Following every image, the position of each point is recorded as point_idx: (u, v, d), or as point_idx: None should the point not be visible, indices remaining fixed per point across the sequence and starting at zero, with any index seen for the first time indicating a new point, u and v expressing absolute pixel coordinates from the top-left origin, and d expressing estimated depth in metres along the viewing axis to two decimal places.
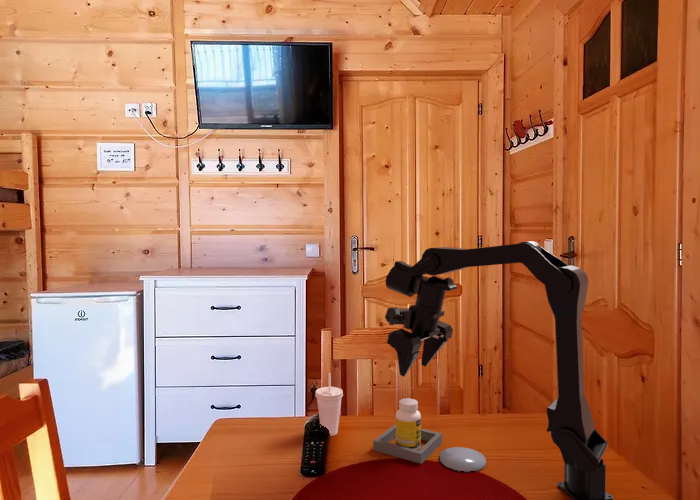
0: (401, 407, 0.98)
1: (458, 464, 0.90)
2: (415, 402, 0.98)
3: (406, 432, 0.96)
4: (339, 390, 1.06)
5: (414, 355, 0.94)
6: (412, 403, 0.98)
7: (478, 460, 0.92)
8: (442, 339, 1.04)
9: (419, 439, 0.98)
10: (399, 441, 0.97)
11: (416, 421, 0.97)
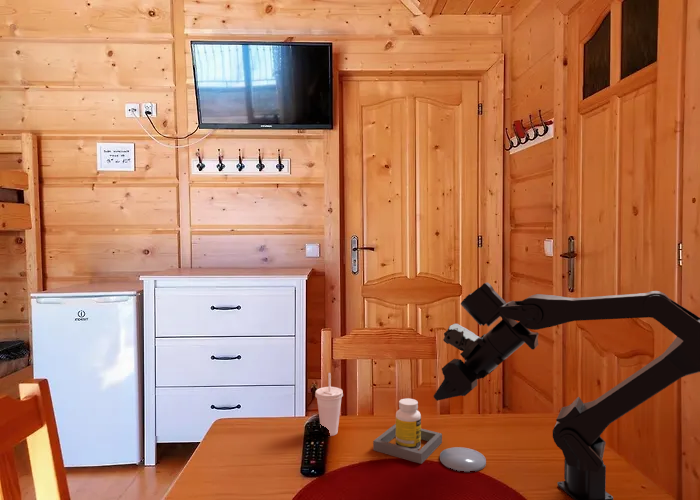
0: (401, 407, 0.98)
1: (458, 464, 0.90)
2: (415, 402, 0.98)
3: (406, 432, 0.96)
4: (339, 390, 1.06)
5: None
6: (412, 403, 0.98)
7: (478, 460, 0.92)
8: None
9: (419, 439, 0.98)
10: (399, 441, 0.97)
11: (416, 421, 0.97)
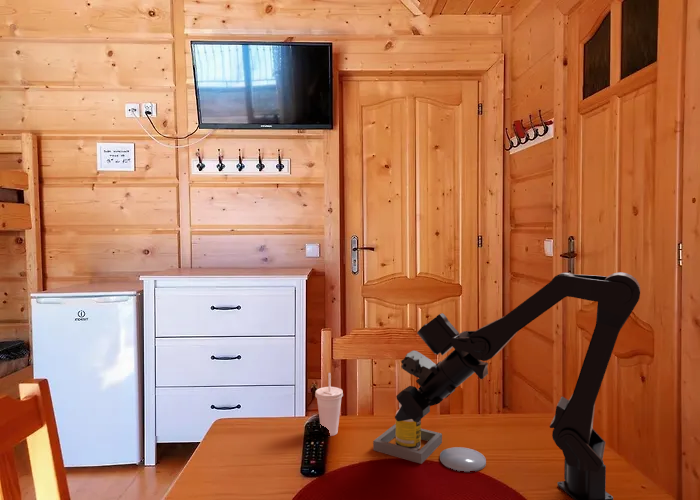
0: None
1: (458, 464, 0.90)
2: None
3: (406, 432, 0.96)
4: (339, 390, 1.06)
5: None
6: None
7: (478, 460, 0.92)
8: None
9: (419, 439, 0.98)
10: (399, 441, 0.97)
11: None
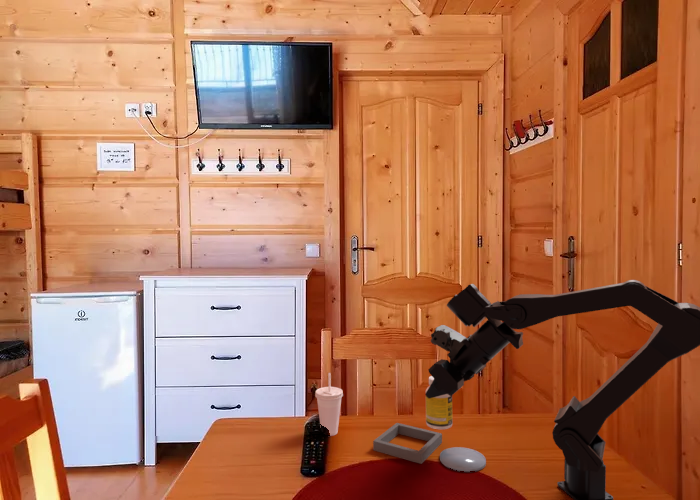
0: (431, 383, 0.94)
1: (458, 464, 0.90)
2: None
3: (437, 409, 0.92)
4: (339, 390, 1.06)
5: None
6: None
7: (478, 460, 0.92)
8: None
9: (451, 416, 0.94)
10: (430, 419, 0.93)
11: (447, 398, 0.93)
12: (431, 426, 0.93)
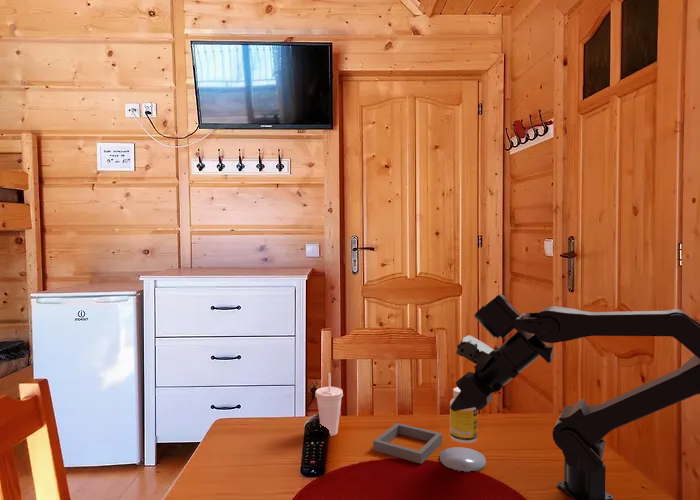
0: (456, 396, 0.91)
1: (458, 464, 0.90)
2: None
3: (463, 422, 0.90)
4: (339, 390, 1.06)
5: None
6: None
7: (478, 460, 0.92)
8: None
9: (476, 430, 0.91)
10: (454, 433, 0.91)
11: (473, 411, 0.90)
12: (456, 439, 0.91)
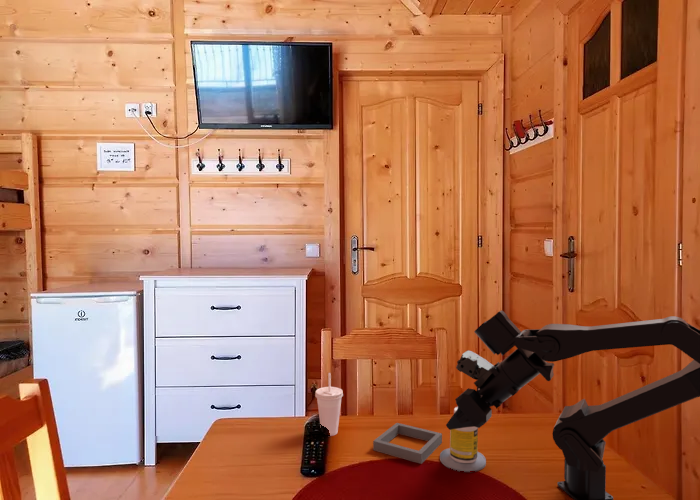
0: None
1: (458, 464, 0.90)
2: None
3: (463, 443, 0.90)
4: (339, 390, 1.06)
5: None
6: None
7: (478, 460, 0.92)
8: None
9: (476, 450, 0.91)
10: (454, 453, 0.91)
11: (473, 431, 0.90)
12: (456, 460, 0.91)
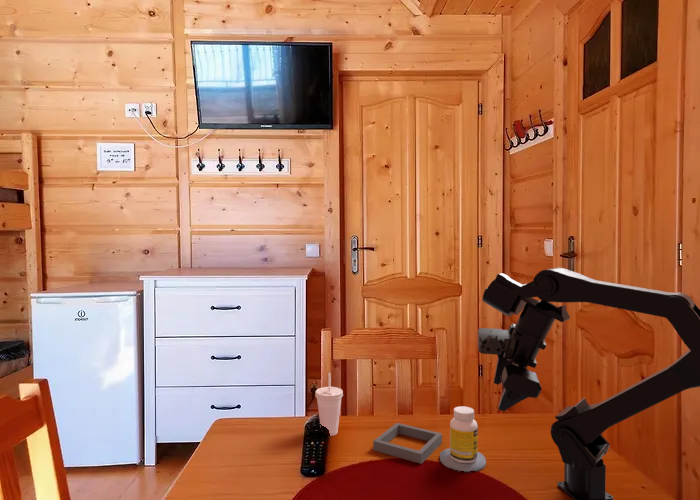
0: (457, 416, 0.91)
1: (458, 464, 0.90)
2: (471, 410, 0.92)
3: (463, 443, 0.90)
4: (339, 390, 1.06)
5: None
6: (468, 412, 0.91)
7: (478, 460, 0.92)
8: None
9: (476, 450, 0.91)
10: (454, 453, 0.91)
11: (473, 431, 0.90)
12: (456, 460, 0.91)
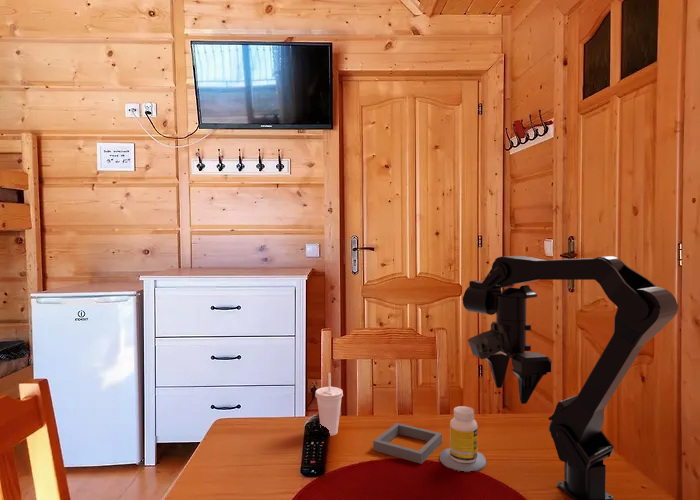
0: (457, 416, 0.91)
1: (458, 464, 0.90)
2: (471, 410, 0.92)
3: (463, 443, 0.90)
4: (339, 390, 1.06)
5: None
6: (468, 411, 0.91)
7: (478, 460, 0.92)
8: None
9: (476, 450, 0.91)
10: (454, 453, 0.91)
11: (473, 431, 0.90)
12: (456, 459, 0.91)
